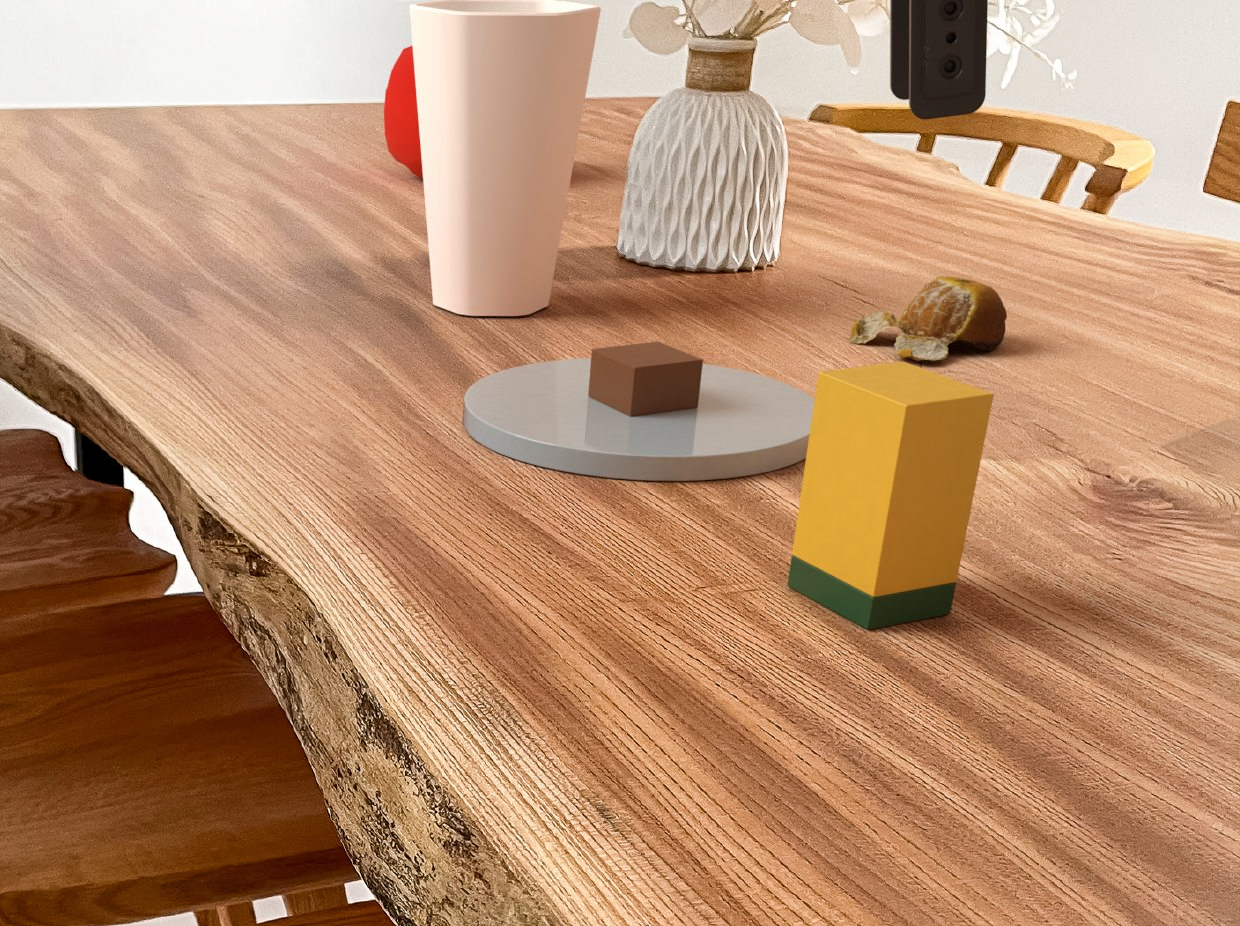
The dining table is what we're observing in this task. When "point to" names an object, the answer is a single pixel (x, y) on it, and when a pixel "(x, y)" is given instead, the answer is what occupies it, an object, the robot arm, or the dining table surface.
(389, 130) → the tomato
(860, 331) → the fruit
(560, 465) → the plate
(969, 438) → the sponge
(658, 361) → the brown block
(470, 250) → the cup
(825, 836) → the dining table surface
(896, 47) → the robot arm
